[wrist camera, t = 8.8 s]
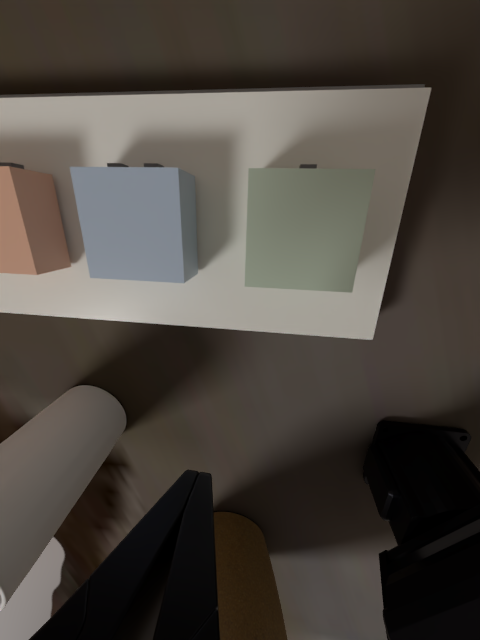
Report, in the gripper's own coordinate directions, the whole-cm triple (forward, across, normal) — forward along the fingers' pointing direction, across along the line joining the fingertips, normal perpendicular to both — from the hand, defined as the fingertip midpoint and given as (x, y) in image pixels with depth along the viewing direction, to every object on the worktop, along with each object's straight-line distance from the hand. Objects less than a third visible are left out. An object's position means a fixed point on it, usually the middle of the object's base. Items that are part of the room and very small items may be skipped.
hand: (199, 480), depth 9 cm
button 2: (+9, +5, -8) cm, 13 cm away
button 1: (+9, -3, -8) cm, 12 cm away
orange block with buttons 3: (+8, +13, -7) cm, 17 cm away
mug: (+12, +15, +10) cm, 21 cm away
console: (+11, +5, -8) cm, 15 cm away
